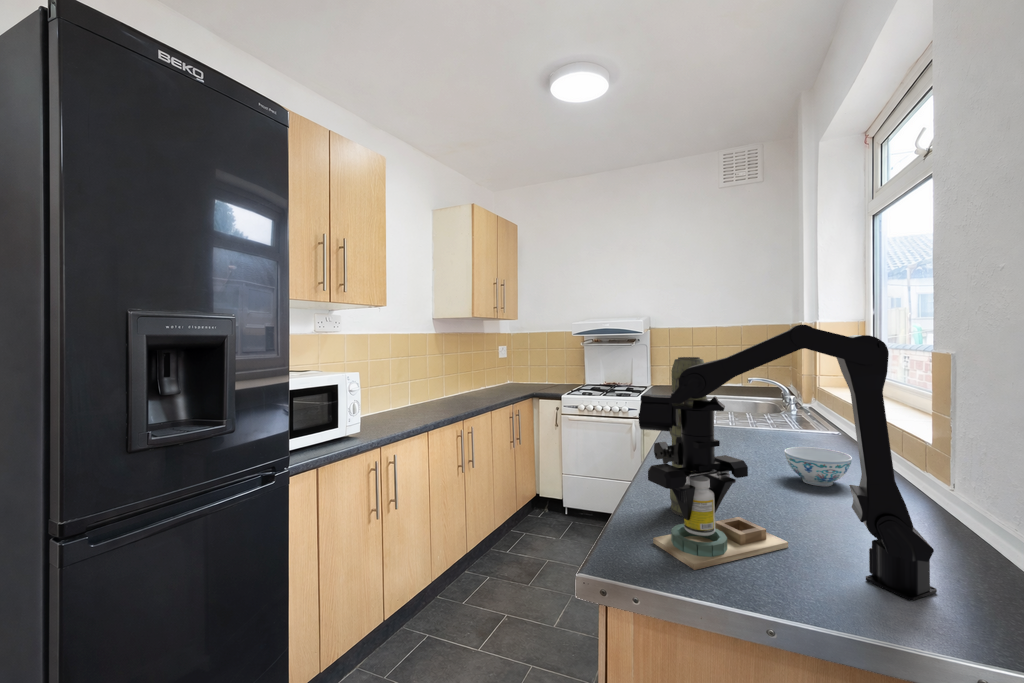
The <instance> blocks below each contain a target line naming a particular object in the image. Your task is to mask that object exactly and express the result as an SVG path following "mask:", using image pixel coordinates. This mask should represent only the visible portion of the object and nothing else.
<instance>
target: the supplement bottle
mask: <svg viewBox="0 0 1024 683" xmlns="http://www.w3.org/2000/svg"><path fill="white" fill-rule="evenodd" d="M690 485H692V486H694V487H695V493H694V499H693V505H692V512H691V516H690V520H686V519H684V518H683V524H684V528H685V530H686V531H687V532H689V533H692V534H695V535H700V536H709V535H712V534H714V533H715V521H716V513H715V502H714V493H713V492H712V491H711V490H710V489H709V487H710V479H709V478H708V477H705V476H696V477H690Z"/></svg>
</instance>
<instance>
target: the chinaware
mask: <svg viewBox="0 0 1024 683" xmlns="http://www.w3.org/2000/svg"><path fill="white" fill-rule="evenodd" d="M784 456H785V459H786V462H787V464H788V466H789V467H790V468H791V470H792V471H793V472H794V473H796V474H797V475H798V476H799V477H800V478H802V481H803V483H804V484H805V483H806V484H807V485H808V484H809V485H813V486H817V487H830V486H833V484H834V482H836V481H838V480H840V479H841V478H843V477H844V476H845V475H846V474H847V473H848V472H849V470H850V467H851V465H852V460H853V457H852V456H851V455H850V454H848V453H845V452H842V451H838V450H833V449H828V448H822V447H814V446H813V447H811V446H809V447H808V446H795V447H794V446H793V447H788V448H785V449H784Z"/></svg>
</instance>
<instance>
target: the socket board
mask: <svg viewBox="0 0 1024 683" xmlns="http://www.w3.org/2000/svg"><path fill="white" fill-rule="evenodd" d="M652 539H653V540H652V542H653V543H652V544H654V545H656V546H657V547H658V548H660V549H662V550H663V551H665V552H666V553H668V555H669V554H670V555H671V556H672V557H674V558H675V559H677V560H678V561H680V562H682V563H683V564H684V565H686V566H688V567H690V569H692V570H694V571H696V570H697V571H698V570H700V569H704V568H708V567H713V566H717V565H720V564H721V565H722V564H726V563H729V562H733V561H737V560H742V559H746V558H750V557H754V556H759V555H762V554H766V553H770V552H771V553H772V552H776V551H779V550H783V549H788V548H789V542H788V541H786V540H784V539H782V538H780V537H779V536H778V537H777V536H776V535H774V534H771V533H769V532H767V528H764V527H762V526H760V525H758V524H756V523H754V522H751V521H749V520H747V519H745V518H742V517H740V516H737V517H736V516H735V517H731V518H730V517H729V518H726V519H722V520H721V519H719V520H715V533H714V534H712V535H709V536H700V535H695V534H692V533H689V532H687V531H686V530H685V528H684V523H681V524H676V525H674V526H673V527H672V528H671V530H670V534H665V535H660V536H656V537H653V538H652Z"/></svg>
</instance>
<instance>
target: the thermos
mask: <svg viewBox="0 0 1024 683" xmlns="http://www.w3.org/2000/svg"><path fill="white" fill-rule="evenodd" d="M702 363H705V361H704V359H703V358H700V357H698V356H683V357H682V356H681V357H679V356H678V357H677V358H675V359H674V361H673V364H672V367H671V370H670V371H671V373H670V374H671V393H673V392H674V391H676V390H677V388H678V387H679V378H680V375H681V373H682V372H683V371H685V370H686V369H688V368H689V367H691V366H694V365H698V364H702ZM694 400H708V398H707V395H706V396H705V397H703V398H699V399H693V398H689V399H688V400H686V401H684V402H683V403H681V404H693V401H694ZM668 432H669V435H670V437H671V445H675V444H676V438H677V437H681V409H678V426H677V427H675V426H673V428H672V431H671V432H670V431H668ZM671 465H672V466H674V467H677V468H682V465H676V464H674V461H672V462H671ZM691 472H694V471H691ZM669 499H670V511H671V510H672V511H671V512H672V513H674V514H675V515H676V516H679V515H680V517H682V516H683V514H682V512H681V509H680V507H679V504H678V501H677V499H676V496H675V494H674V492H673V491H672V489H669Z"/></svg>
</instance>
